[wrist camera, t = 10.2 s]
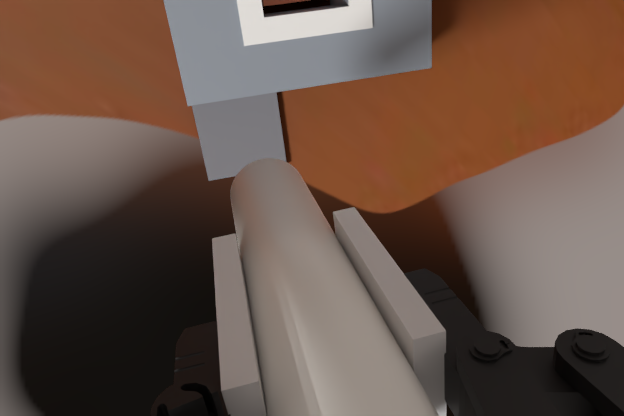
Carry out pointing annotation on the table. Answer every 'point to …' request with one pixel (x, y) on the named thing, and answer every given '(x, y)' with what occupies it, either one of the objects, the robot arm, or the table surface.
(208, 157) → the pad
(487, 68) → the table surface
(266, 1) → the orange rectangular tile
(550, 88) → the table surface
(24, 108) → the table surface
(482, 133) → the table surface
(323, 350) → the stylus
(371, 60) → the panel
